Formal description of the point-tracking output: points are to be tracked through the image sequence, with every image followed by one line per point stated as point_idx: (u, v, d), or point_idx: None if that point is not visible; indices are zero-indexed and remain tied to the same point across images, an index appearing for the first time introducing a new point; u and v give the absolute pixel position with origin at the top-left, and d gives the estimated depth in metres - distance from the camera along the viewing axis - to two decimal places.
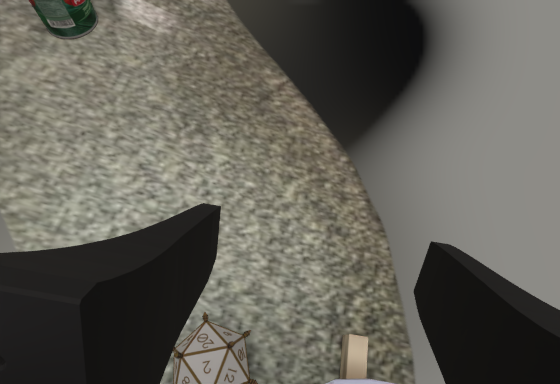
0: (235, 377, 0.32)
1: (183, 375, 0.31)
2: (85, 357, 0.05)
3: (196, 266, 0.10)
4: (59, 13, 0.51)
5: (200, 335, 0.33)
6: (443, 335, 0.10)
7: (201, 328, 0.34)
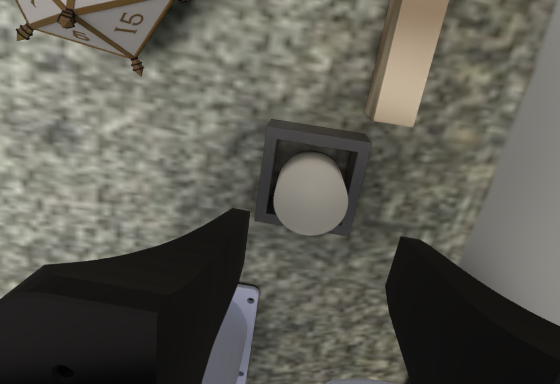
0: None
1: None
2: (156, 370, 0.05)
3: (230, 272, 0.10)
4: None
5: None
6: (408, 328, 0.10)
7: None
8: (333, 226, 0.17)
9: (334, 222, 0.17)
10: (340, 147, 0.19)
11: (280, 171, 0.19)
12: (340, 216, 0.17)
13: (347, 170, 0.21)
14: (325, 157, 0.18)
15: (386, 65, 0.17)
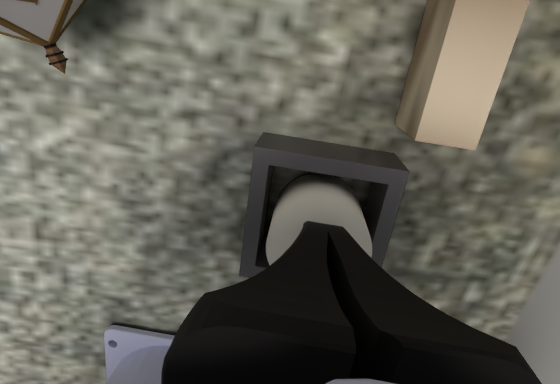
0: None
1: None
2: None
3: None
4: None
5: None
6: None
7: None
8: None
9: None
10: (362, 177, 0.13)
11: (277, 200, 0.14)
12: None
13: (369, 203, 0.15)
14: (338, 183, 0.13)
15: (438, 55, 0.11)
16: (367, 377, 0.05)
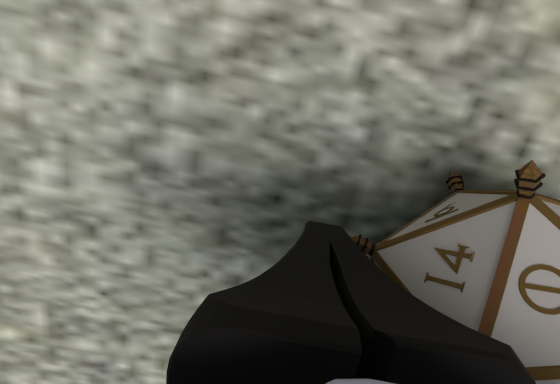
0: None
1: None
2: None
3: None
4: None
5: (529, 271, 0.08)
6: None
7: (520, 233, 0.08)
8: None
9: None
10: None
11: None
12: None
13: None
14: None
15: None
16: (362, 376, 0.05)
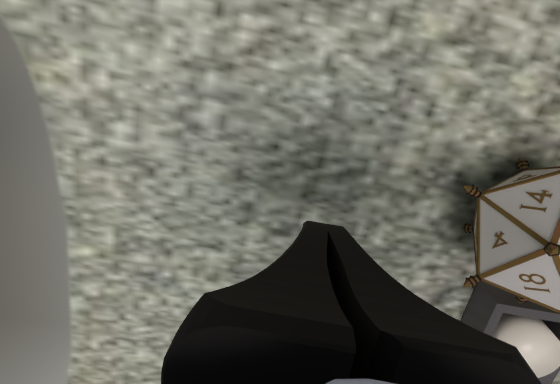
0: None
1: (531, 270, 0.16)
2: None
3: None
4: None
5: None
6: None
7: None
8: (547, 373, 0.22)
9: (549, 371, 0.22)
10: None
11: None
12: (554, 367, 0.22)
13: None
14: None
15: None
16: (367, 377, 0.05)
